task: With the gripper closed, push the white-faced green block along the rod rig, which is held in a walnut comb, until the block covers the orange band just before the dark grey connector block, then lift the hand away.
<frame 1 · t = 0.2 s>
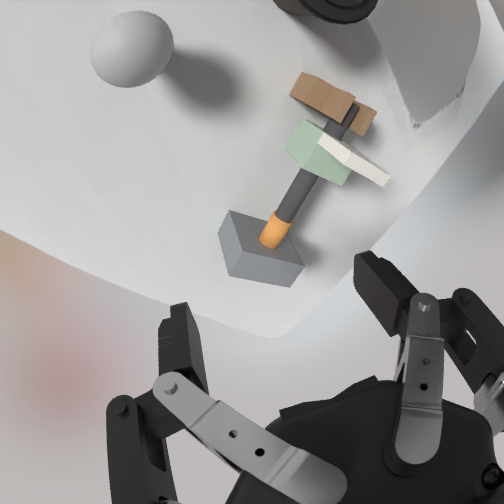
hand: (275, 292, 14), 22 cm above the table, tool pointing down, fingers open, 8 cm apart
rod rig: (285, 168, 35), on the table
lightbulb: (143, 48, 23), on the table
white-faced green block: (333, 160, 27), point 7 cm above the table, slide at 0.0 cm
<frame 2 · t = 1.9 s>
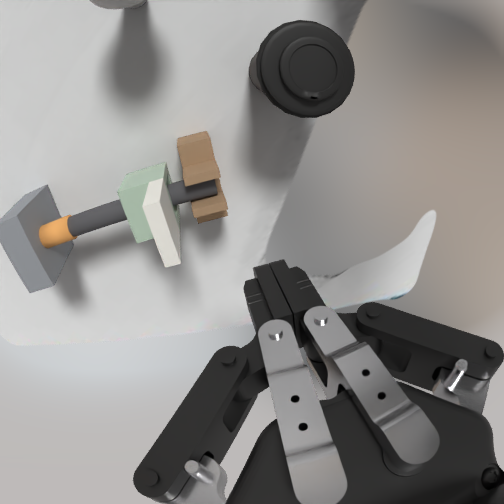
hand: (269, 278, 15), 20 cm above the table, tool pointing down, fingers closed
rod rig: (116, 195, 30), on the table
coffee cup: (274, 70, 27), on the table
white-faced green block: (148, 212, 24), point 7 cm above the table, slide at 0.0 cm
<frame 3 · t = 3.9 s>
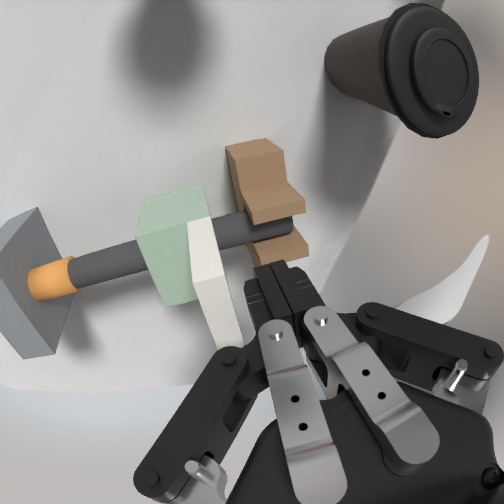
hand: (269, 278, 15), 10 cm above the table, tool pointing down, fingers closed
rod rig: (135, 223, 22), on the table
coffee cup: (353, 64, 19), on the table
white-faced green block: (185, 266, 16), point 7 cm above the table, slide at 0.7 cm, touching gripper
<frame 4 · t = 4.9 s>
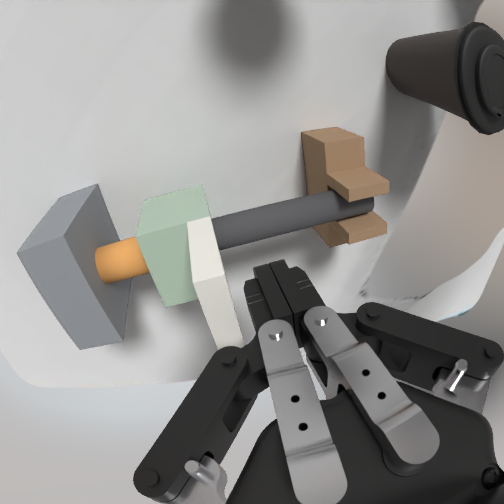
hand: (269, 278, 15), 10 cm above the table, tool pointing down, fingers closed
rod rig: (206, 203, 23), on the table
coffee cup: (408, 66, 20), on the table
white-faced green block: (185, 266, 16), point 8 cm above the table, slide at 6.5 cm, touching gripper
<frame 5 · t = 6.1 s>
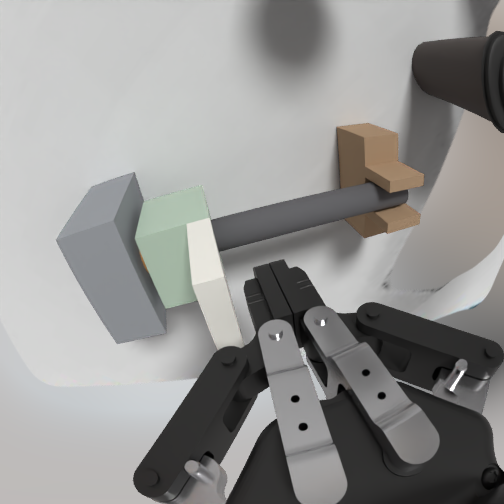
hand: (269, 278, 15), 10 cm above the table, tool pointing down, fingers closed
rod rig: (245, 194, 23), on the table
coffee cup: (430, 68, 20), on the table
white-faced green block: (185, 267, 16), point 8 cm above the table, slide at 9.5 cm, touching gripper
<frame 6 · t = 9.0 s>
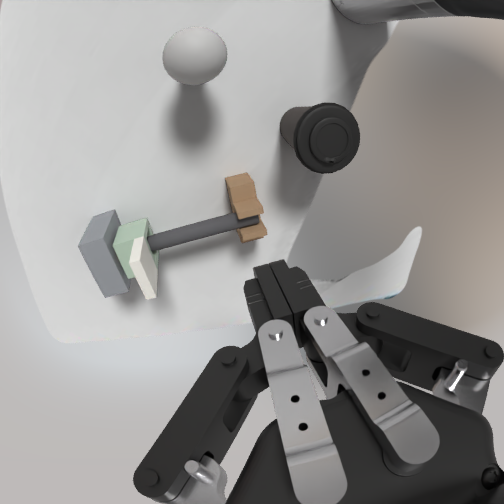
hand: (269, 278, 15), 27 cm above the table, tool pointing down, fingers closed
rod rig: (174, 219, 41), on the table
lightbulb: (191, 62, 30), on the table
coffee cup: (298, 125, 38), on the table
white-faced green block: (135, 258, 34), point 7 cm above the table, slide at 9.5 cm
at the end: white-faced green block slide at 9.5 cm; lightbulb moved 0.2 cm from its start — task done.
